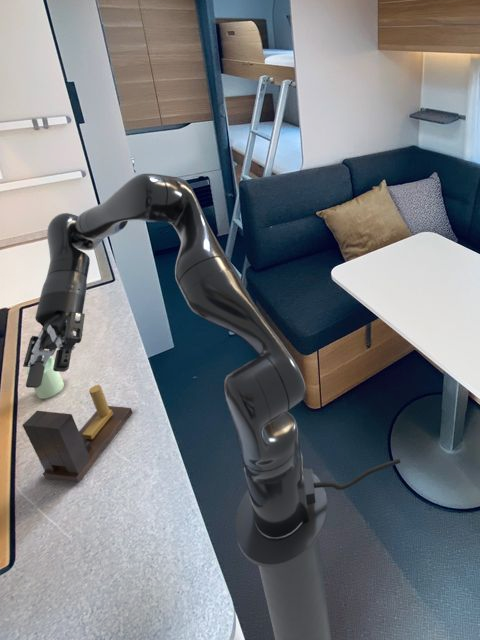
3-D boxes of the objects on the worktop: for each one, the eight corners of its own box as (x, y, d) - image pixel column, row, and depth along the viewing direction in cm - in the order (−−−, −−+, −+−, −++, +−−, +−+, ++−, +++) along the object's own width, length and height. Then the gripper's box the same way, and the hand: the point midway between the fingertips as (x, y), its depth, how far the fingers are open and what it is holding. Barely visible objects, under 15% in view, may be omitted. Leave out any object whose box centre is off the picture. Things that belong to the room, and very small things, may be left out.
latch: (103, 410, 90) (85, 363, 85) (132, 412, 89) (116, 365, 84) (45, 478, 76) (19, 427, 71) (78, 482, 76) (55, 431, 70)
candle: (57, 396, 94) (46, 369, 91) (33, 401, 93) (20, 373, 90) (68, 380, 98) (57, 353, 95) (44, 383, 97) (33, 357, 94)
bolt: (104, 412, 87) (94, 384, 84) (113, 413, 87) (103, 385, 84) (83, 438, 82) (70, 409, 79) (92, 439, 82) (80, 410, 78)
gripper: (103, 288, 85) (91, 367, 76) (62, 314, 90) (46, 392, 80) (64, 279, 80) (46, 363, 70) (22, 308, 84) (0, 391, 75)
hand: (46, 379), depth 75 cm, fingers open, 8 cm apart
